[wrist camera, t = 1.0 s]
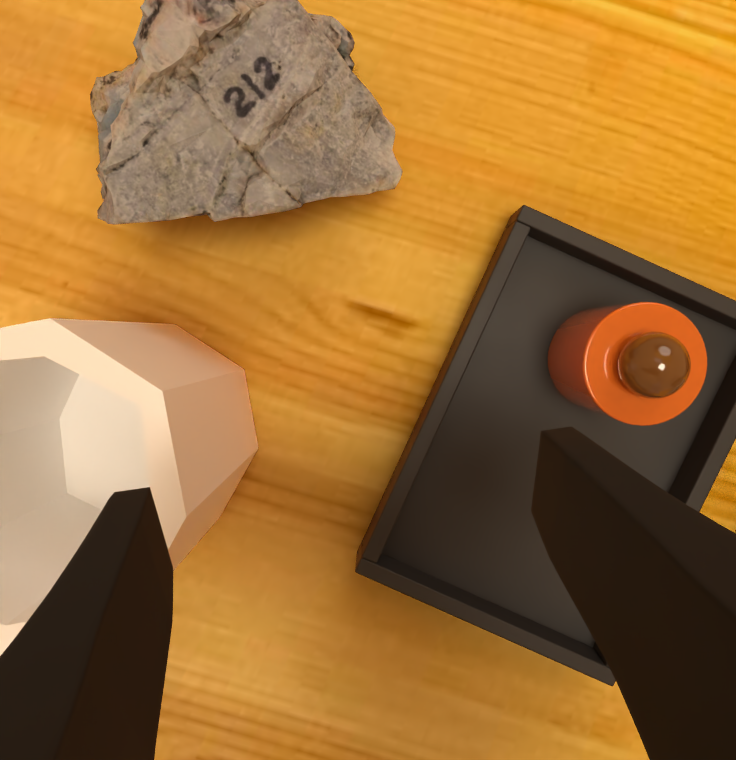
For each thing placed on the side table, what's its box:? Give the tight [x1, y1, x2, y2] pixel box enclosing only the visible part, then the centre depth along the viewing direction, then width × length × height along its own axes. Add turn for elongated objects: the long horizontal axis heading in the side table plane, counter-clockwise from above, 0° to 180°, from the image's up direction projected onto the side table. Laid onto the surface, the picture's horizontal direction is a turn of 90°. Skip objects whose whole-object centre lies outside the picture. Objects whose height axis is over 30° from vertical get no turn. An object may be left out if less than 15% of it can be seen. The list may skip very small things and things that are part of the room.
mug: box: [0, 318, 259, 656], centre depth 21 cm, size 12×9×10 cm
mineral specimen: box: [90, 0, 402, 224], centre depth 23 cm, size 10×8×10 cm
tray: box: [355, 205, 736, 686], centre depth 25 cm, size 14×10×2 cm
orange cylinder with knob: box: [548, 302, 707, 426], centre depth 22 cm, size 4×4×6 cm
